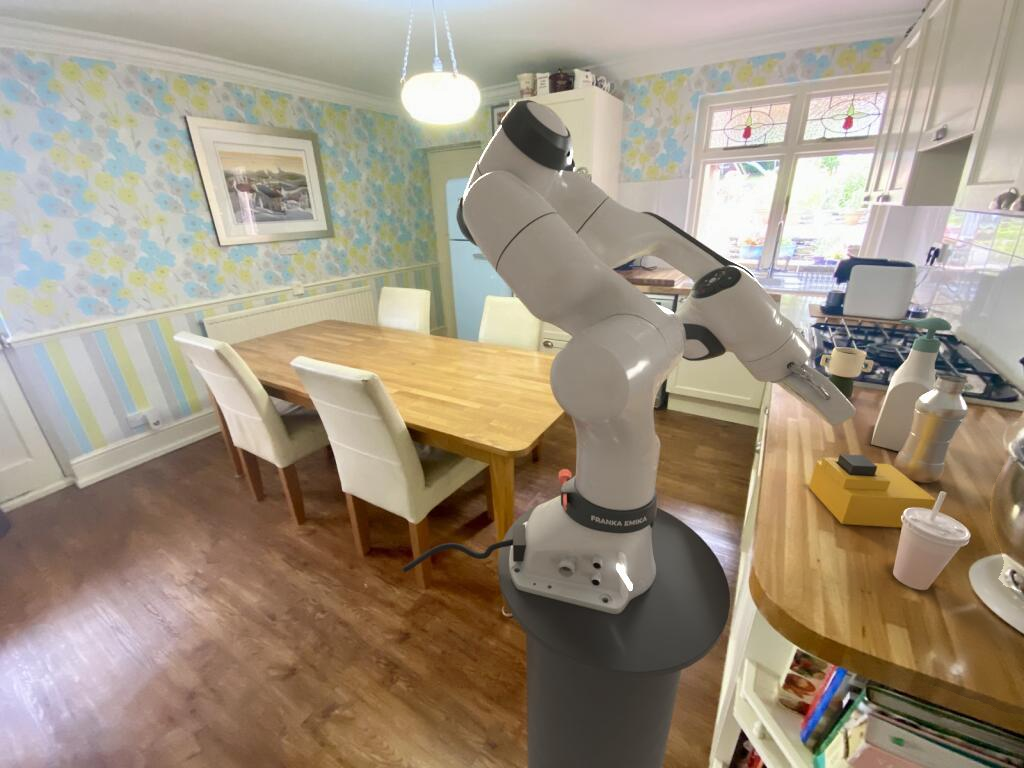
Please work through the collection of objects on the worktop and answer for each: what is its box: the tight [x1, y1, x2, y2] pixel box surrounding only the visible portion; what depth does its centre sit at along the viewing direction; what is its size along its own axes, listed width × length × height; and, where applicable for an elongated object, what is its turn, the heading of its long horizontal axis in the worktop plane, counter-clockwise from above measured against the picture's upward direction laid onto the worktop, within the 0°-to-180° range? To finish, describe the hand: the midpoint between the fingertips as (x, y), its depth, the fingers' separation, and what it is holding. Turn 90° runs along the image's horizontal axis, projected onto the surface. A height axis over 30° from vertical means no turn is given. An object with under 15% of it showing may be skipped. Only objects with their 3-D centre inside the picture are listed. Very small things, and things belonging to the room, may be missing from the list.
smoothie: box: [892, 490, 971, 591], centre depth 55 cm, size 6×6×14 cm
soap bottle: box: [870, 316, 953, 453], centre depth 87 cm, size 11×8×27 cm
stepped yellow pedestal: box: [808, 457, 937, 529], centre depth 70 cm, size 12×10×8 cm
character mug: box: [819, 346, 875, 399], centre depth 111 cm, size 11×7×13 cm, turn 57°
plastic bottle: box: [893, 375, 969, 484], centre depth 75 cm, size 6×7×20 cm
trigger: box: [837, 453, 877, 476], centre depth 69 cm, size 4×4×2 cm
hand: (824, 412), depth 67 cm, fingers closed
